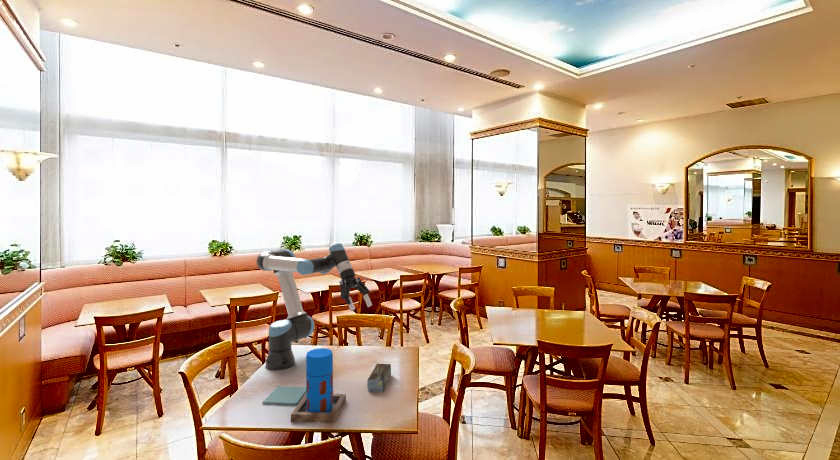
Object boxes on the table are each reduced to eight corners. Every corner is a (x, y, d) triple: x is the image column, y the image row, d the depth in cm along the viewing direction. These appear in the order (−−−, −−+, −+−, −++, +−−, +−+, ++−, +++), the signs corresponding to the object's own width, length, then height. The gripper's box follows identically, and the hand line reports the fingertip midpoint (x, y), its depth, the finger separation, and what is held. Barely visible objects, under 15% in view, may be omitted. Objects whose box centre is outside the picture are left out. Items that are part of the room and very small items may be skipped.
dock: (290, 421, 153) (290, 414, 152) (306, 399, 171) (306, 392, 170) (334, 423, 152) (334, 415, 151) (346, 400, 170) (346, 394, 169)
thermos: (336, 405, 166) (336, 348, 165) (327, 418, 155) (327, 358, 154) (312, 403, 167) (311, 347, 166) (302, 416, 156) (301, 356, 155)
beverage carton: (366, 391, 179) (366, 377, 179) (376, 374, 198) (376, 362, 198) (383, 392, 178) (383, 379, 178) (391, 375, 197) (391, 363, 197)
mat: (262, 404, 166) (262, 401, 166) (277, 388, 181) (277, 386, 181) (296, 405, 165) (296, 403, 165) (308, 389, 180) (308, 387, 180)
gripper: (334, 268, 186) (350, 308, 180) (365, 266, 208) (381, 301, 202) (324, 276, 189) (340, 315, 183) (356, 272, 211) (371, 307, 205)
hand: (361, 308), depth 192 cm, fingers open, 13 cm apart
